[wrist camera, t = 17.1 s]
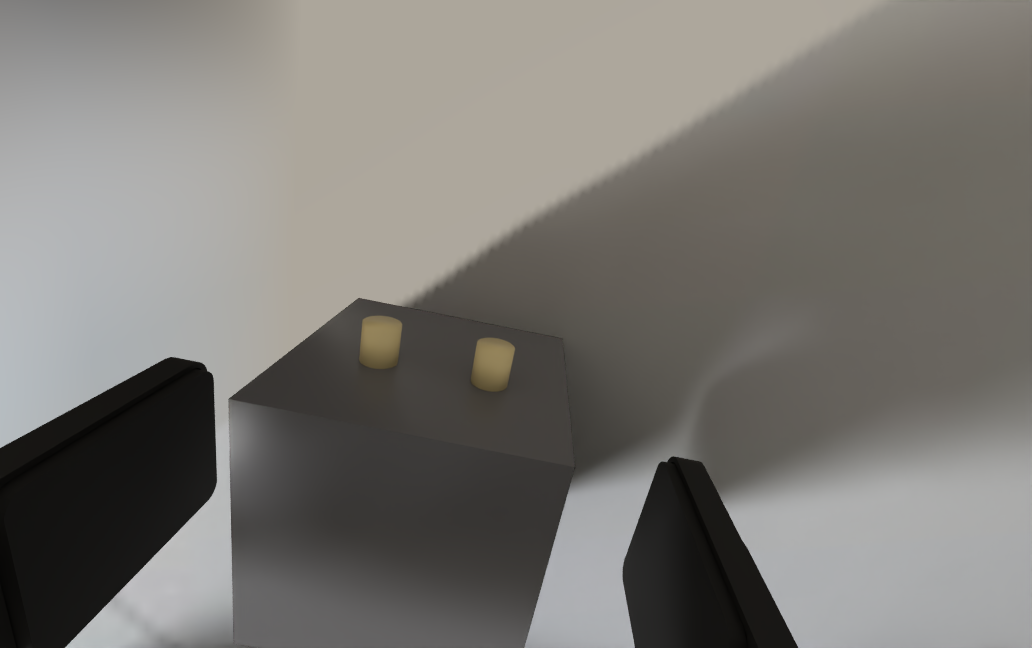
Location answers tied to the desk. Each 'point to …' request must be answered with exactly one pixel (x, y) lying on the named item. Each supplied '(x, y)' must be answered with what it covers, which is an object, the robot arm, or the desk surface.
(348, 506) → the lever
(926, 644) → the desk surface
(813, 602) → the desk surface
